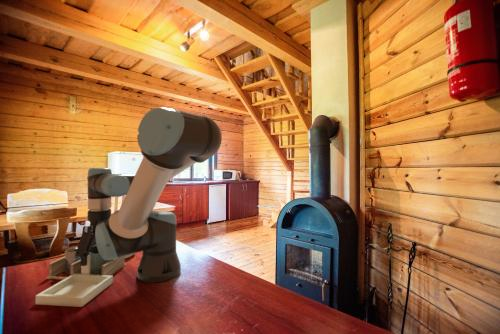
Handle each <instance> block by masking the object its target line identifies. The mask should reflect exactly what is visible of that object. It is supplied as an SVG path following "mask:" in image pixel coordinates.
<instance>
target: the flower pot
mask: <svg viewBox="0 0 500 334" xmlns="http://www.w3.org/2000/svg"><path fill="white" fill-rule="evenodd" d="M85 253H86V252H85ZM89 255H90V275H102V265H104V264H106V263H107V262H109V261H111V260H104V259H103V258H102V257H101V256H100V254H99V252H98V249H97V245H96V244H95V245H93V246H92V248H91V250H90V252H89Z"/></svg>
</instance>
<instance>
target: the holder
mask: <svg viewBox="0 0 500 334" xmlns="http://www.w3.org/2000/svg"><path fill="white" fill-rule="evenodd" d="M125 261H126V258H125V256H124V257H121V258H118V259H113V260H111V261H109V262H107V263H106V264H104V265H102V274H101V275H111V276H114V275H115V273H117V272H119V271H120V270H121V269H122V268H123V267H125V266H127V264H126V262H125ZM63 272H65V255H64V256H63V257H60V258H58V259H56V260H53V261H51V262H49V263H48V276H46V279H48V280H64V279H66V278H67V277H68V276H61V275H60V276H58V275H59V274H61V273H63ZM73 274H81V259H80V260H78V261H76V262H74V263H72V264H70V274H69V276H71V275H73Z"/></svg>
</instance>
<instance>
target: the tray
mask: <svg viewBox="0 0 500 334" xmlns="http://www.w3.org/2000/svg"><path fill="white" fill-rule="evenodd" d="M66 277H67V278H66V279H64V280H63V279H61V280H60V281H58V282H57V283H55V284H53V285H52V286H49V287H48V288H46V289H45V290H43V291H41V292H39V293H38V294H35V305H40V306H41V305H42V306H43V305H44V306H61V307H74V308H75V307H79V308H82V307H84V306H85V305H86V304H88V303H89V302H90V301H91V300H93V299H94V298H96V296H98V295H99V294H100V293H101V292H103V291H105V290H106V289H107V288H108V287H110V286H111V285H113V283H114V275H102V274H99V275H93V274H73V275H71V276H70V275H69V276H66Z"/></svg>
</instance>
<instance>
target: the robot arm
mask: <svg viewBox="0 0 500 334" xmlns="http://www.w3.org/2000/svg"><path fill="white" fill-rule="evenodd" d="M137 131H138V134H137V135H136V138H137V144H138V147H139V149H140V153H141V155H142V159H141V162H140V164H139V166H138V168H137V170H136V173H112V169H111V168H110V167H91V168H89V169H88V171H87V179H86V180H87V210H88V211H87V221H88V222H89V223H90V224H89V225H83V227H82V233H81V236H80V239H79V242H78V245H77V246H78V248H77V251H76V254H75V256H80V257H81V274H90V255H89V252H90V250H91V248H92V246H94V243H95V246H96V245H97V249H98V252H99V254H100V256H101V257H102V258H103V259H104V260H113V259H118V258H121V257H124V256H128V255H131V254H133V255H134V254H137V253H141V252H142V255H141V258H140V261H139V264H138V267H137V271H136V278H137V280H138V281H141V282H143V283H150V284H151V283H152V284H155V283H156V284H157V283H162V282H167V281H171V280H172V279H174V278H176V277H178V276H179V275H180V274H181V271H182V270H181V267H182V265H181V262H180V258H179V256H178V253H177V225H178V223H177V215H176V214H175V213H174V212H172V211H166V210H156V209H155V206H156V204H157V202H158V201H159V199H160V197H161V195H162V193H163V191H164V189H166V188H165V187H166V186H167V184H168V182H169V180H171V179H173V178H175V177H176V176H178V175H180V174H181V173H182V172H184V171H185V170H187V169H188V168H190V167H191V166H193V165H195V164H197V163H198V164H200V163H204V162H205V161H208V160H209V159H210V158H212V157H214V156H215V154H217V152H218V151H219V149H220V148H221V144H222V140H223V139H222V137H223V136H222V131H221V128H220V127H219V125H218V124H217V122H216V121H214V120H213V119H212V118H211V117H208V116H206V115H201V114H200V115H199V114H196V113H191V112H187V111H183V110H178V109H177V108H172V107H163V106H162V107H159V106H158V107H154V108H152V109H150V110H149V111H147V112H146V113H145V114H144V116H143V117H142V119H141V120H140V122H139V125H138V129H137ZM123 196H124V199H123V201H122V204H121V205H120V207H119V209H117V210H116V211H114V212H112V209H111V208H112V198H115V197H118V198H119V197H123ZM154 209H155V210H154ZM85 252H86V253H85ZM90 275H91V274H90Z"/></svg>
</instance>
